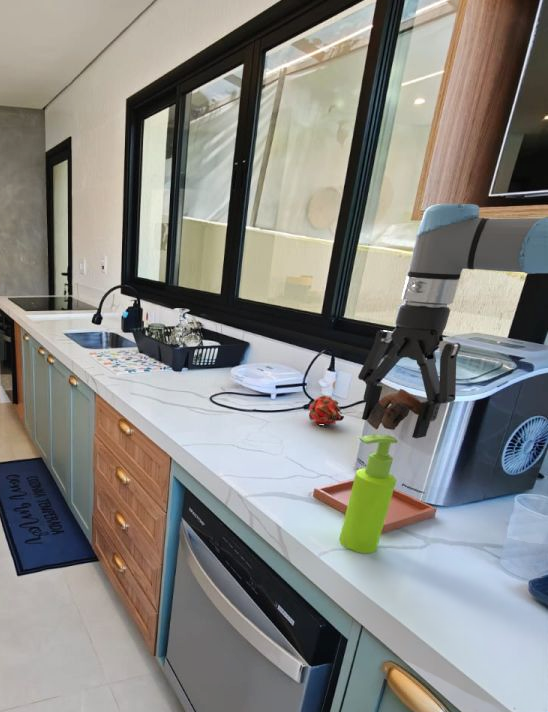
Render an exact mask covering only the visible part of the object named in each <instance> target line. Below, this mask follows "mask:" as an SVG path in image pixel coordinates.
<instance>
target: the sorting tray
mask: <svg viewBox="0 0 548 712" xmlns="http://www.w3.org/2000/svg"><path fill="white" fill-rule="evenodd" d="M354 479H355V477H354V478H349V479H345V480H342V481H338V482H334V483H330V484H326V485H322V486H318V487H314V489H313V492H312V497H314V498H316V499H317V500H319V501H321V502H323V503H324V504H327V505H328V506H329V507H332V508H334V509H335V510H337V511H339V512H341V513H343V514H344V515H346V511H347V507H348V503H349V499H350V495H351V491H352V487H353V483H354ZM437 511H438V508H437V507H435V506H433V505H430V504H429V503H426V502H425V501H422V500H420V499H418V498H417V497H413V496H412V495H409V494H407V493H405V492H403V491H400V490H399V489H396V488H394V490H393V494H392V497H391V501H390V504H389V508H388V511H387V515H386V518H385V522H384V525H383V529H382V532H381V535H382V534H386V533H389V532H392V531H394V530H398V529H400V528H404V527H408V526H410V525H413V524H416V523H419V522H422V521H425V520H429V519H431V518H434V517H435V516H436V513H437Z"/></svg>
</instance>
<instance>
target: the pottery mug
mask: <svg viewBox="0 0 548 712" xmlns="http://www.w3.org/2000/svg"><path fill="white" fill-rule="evenodd" d="M422 402H423V401H420V399H418V398H416V397H415V396H414V395H413V394H411V393H409V392H408V391H406V390H405V389H402V388H400V389H399V390H398V391H397V392H395V393H389V394H387V395H384V396H383V397H381V399H379V402H378V403H377V404H376V405H375V407H374V408H373V410H372V411H371V413H370V415H369V418H368V419H367V420H366V421H367V423H368V424H369V425H370V426H371V427H372V428H374V429H375V430H378V429H379V427H380V425H382V427H383V428H384V429H385V430H391V431H395V430H396V428H398V426H399V424H400V423H401V422H403V420H404V419H406V417H408V415H409V413H410V411H411V412H412V413H413V414H414V415H417V416H418V415H419V411H420V408H421V404H422ZM430 425H431V423H430V424H429V426H430Z"/></svg>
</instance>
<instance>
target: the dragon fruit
mask: <svg viewBox="0 0 548 712" xmlns="http://www.w3.org/2000/svg"><path fill="white" fill-rule="evenodd" d="M308 410H309V413H308V418H309V420H310V421H314V422H315V423H316V424H317V425H318V424H325V425H326V424H327V425H331V426H333V425H334V424H336V423H337V422H340V421H343V420H344V418H345V416H344V415H342V414H343V413H342V411H341V407H340V406H339V402H338V401H337V400H335V399H333V398H332V397H331V396H328V395H327V396H326V395H320V396H319V397H317V398H315V399H314V400H313V401H312V402H311V403H310V404H309V407H308ZM325 425H322V426H321V427H323V426H325Z"/></svg>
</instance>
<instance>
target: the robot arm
mask: <svg viewBox="0 0 548 712" xmlns="http://www.w3.org/2000/svg"><path fill="white" fill-rule="evenodd" d="M464 269H465V270H480V271H481V270H483V271H492V272H493V271H494V272H506V273H507V272H509V273H510V272H511V273H524V274H527V275H530V274H532V275H533V274H534V275H535V274H548V217H528V218H527V217H522V218H521V217H519V218H517V217H516V218H513V217H512V218H488V217H487V218H485V217H480V206H479V205H478V204H473V203H471V204H470V203H439V204H438V203H437V204H433V205H430V206H429V207H427V208H426V209H425V210H424V212H423V216H422V219H421V221H420V224H419V228H418V232H417V233H416V235H415V242H414V247H413V252H412V257H411V259H410V264H409V268H408V272H407V276H406V279H405V284H404V288H403V290H402V291H403V292H402V296H401V300H402V301H404V302H403V303H401V304H400V305H399V306H398V310H397V315H396V319H395V328H394V329H393V330H392V331H391V330H389V329H385V330H377V331H376V334H375V339H374V343H373V346H372V348H371V350H370V351H369V354H368V355H367V358H366V359H365V362H364V363H363V366H362V368H361V369H360V372H359V373H358V376H357V378H358V380H360V381H363V382H364V383H365V390H364V394H363V401H364V402H365V404H364V408H363V412H362V416H361V420H363V421H367V419H368V418H369V415H370V413H371V411H372V410H373V408H374V407H375V405H376V404H377V403H378V402H379V401H380V400H381V399H380V397H381V394H382V392H383V391H382V390H383V387H384V386H383V385H381V384H382V381H383V379H385V377H386V376H387V375H388V374H389V373H390V372H391V370H392V369H393V368H394V367H395V366H396V365H397V364H398V363H399V362H400V360H401V359H403V358H408V359H411V360H412V361H416V364H417V366H418V367H419V370H420V374H421V379H422V382H423V387H424V392H425V395H426V401H421V402H422V404H421V408H420V411H419V415H417V420H416V422H415V425H414V429H413V433H412V435H411V437H412V438H414V439H420V438H424V437H426V436H427V433H428V430H429V428H430V425H431V422H434V421H435V420H436V419H437V417H438V414H439V410H440V407H441V405H442V404H448V403H453V402H455V400H456V393H457V391H456V387H457V357H458V354H459V352H460V350H461V343H460V342H449V341H446V340H444V337H443V334H444V331H445V330H446V327H447V324H448V320H449V317H450V313H451V309H450V307H448V306H450V305H452V304H453V303H454V300H455V297H456V292H457V289H458V285H459V282H460V278H461V274H462V272H463V270H464ZM391 341H392V344H393V346H392V347H391V349H390V350H389V351H388V352H387V354H386V357H385V358H384V359H383V357H384V355H385V353H386V351H387V349H388V347H389V344H390V343H391ZM438 349H439V354H440V358H439V374H438V369H437V357H436V353H435V352H436V351H437V350H438ZM382 359H383V360H382ZM380 362H381V363H380ZM429 424H430V425H429Z"/></svg>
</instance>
